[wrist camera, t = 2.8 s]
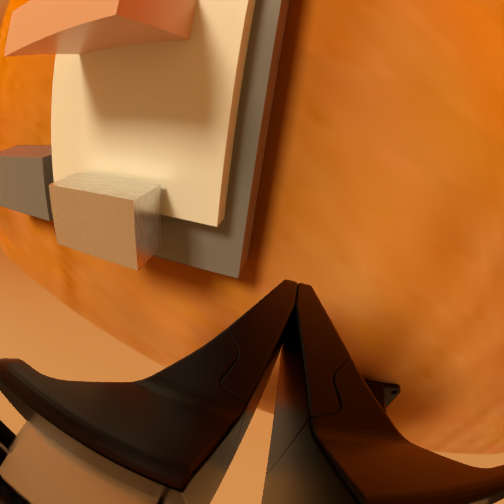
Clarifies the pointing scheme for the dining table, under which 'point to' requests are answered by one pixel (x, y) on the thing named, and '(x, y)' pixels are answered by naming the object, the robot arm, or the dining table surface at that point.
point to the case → (241, 170)
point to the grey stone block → (107, 217)
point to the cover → (143, 91)
